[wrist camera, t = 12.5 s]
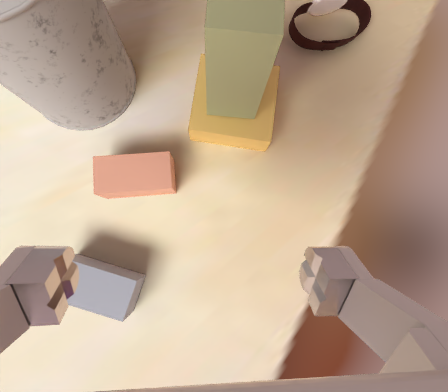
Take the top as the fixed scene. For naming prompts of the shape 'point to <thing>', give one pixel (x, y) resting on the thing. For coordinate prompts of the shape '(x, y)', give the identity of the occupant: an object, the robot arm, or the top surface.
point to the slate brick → (106, 288)
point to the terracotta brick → (134, 175)
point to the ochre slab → (232, 126)
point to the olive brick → (240, 53)
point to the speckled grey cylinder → (65, 61)
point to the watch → (325, 4)
